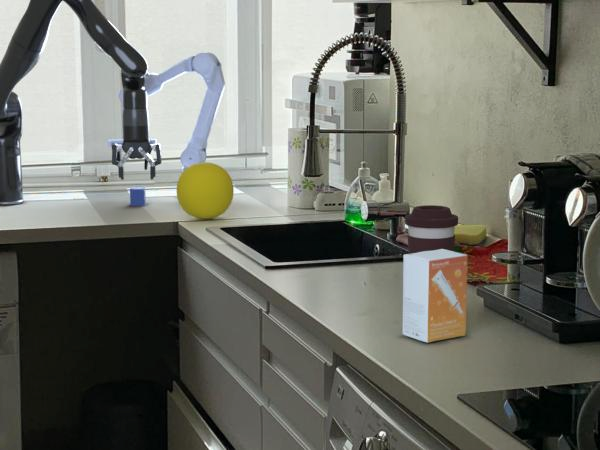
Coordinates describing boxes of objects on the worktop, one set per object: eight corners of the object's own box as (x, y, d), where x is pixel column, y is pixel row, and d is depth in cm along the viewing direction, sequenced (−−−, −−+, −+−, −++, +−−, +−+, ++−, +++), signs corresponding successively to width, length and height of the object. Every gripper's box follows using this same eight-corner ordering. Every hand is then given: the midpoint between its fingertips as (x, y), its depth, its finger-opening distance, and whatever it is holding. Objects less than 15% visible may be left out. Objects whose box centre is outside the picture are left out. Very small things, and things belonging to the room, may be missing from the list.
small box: (427, 344, 159) (428, 260, 157) (401, 334, 164) (401, 253, 162) (467, 335, 164) (468, 254, 161) (440, 327, 169) (441, 247, 167)
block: (130, 206, 304) (129, 189, 304) (131, 203, 309) (131, 187, 308) (144, 205, 305) (143, 189, 304) (145, 203, 309) (145, 187, 308)
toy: (224, 212, 289) (223, 158, 287) (240, 220, 275) (239, 164, 273) (171, 216, 284) (169, 161, 282) (185, 224, 270) (183, 166, 268)
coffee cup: (400, 280, 202) (400, 204, 200) (450, 279, 203) (451, 203, 201) (409, 292, 193) (410, 212, 190) (462, 291, 193) (463, 211, 191)
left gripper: (109, 125, 299) (111, 181, 302) (159, 124, 300) (161, 180, 303) (112, 123, 306) (114, 177, 309) (161, 122, 307) (162, 177, 310)
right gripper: (106, 126, 314) (107, 171, 316) (154, 125, 315) (156, 170, 317) (108, 124, 321) (110, 168, 323) (156, 124, 322) (157, 168, 324)
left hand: (137, 179), depth 306 cm, fingers open, 8 cm apart
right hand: (133, 169), depth 321 cm, fingers open, 7 cm apart
